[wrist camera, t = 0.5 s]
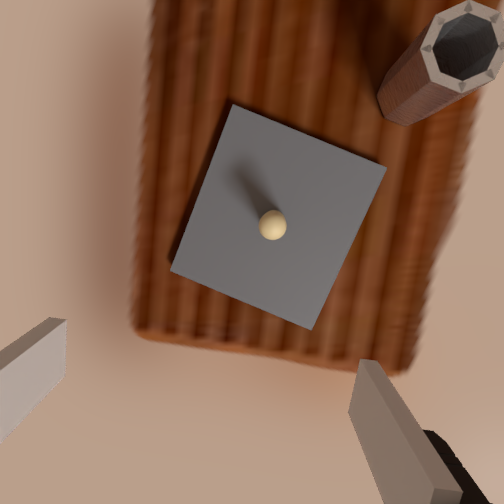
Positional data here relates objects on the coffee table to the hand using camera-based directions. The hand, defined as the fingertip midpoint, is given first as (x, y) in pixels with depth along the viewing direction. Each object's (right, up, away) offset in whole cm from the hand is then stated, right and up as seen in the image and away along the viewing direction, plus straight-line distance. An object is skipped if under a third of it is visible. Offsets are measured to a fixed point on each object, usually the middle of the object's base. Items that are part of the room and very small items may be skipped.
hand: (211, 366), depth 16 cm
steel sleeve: (+19, +22, +22) cm, 36 cm away
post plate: (+4, +9, +25) cm, 27 cm away
